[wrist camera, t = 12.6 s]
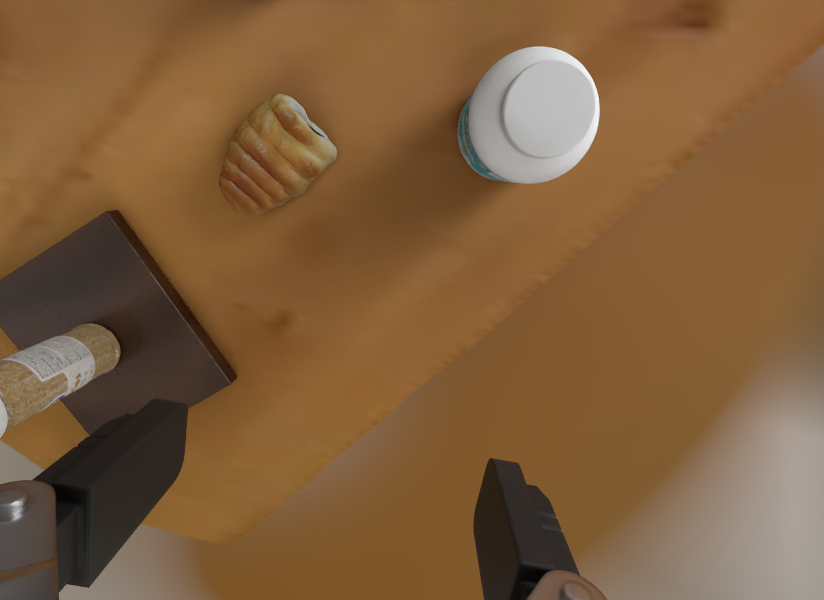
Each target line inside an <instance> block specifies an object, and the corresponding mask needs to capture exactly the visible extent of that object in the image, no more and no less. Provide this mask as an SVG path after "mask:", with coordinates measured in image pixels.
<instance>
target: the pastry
mask: <svg viewBox="0 0 824 600" xmlns="http://www.w3.org/2000/svg"><path fill="white" fill-rule="evenodd" d="M336 157H337V149H336V147H335V146H334V145H333V144H332V143H331V141H329V138H328V137H327V136H326V134H325V133H324V132H323V131H322V130H321V129H319V128H318V127H317V126H316V125H315V124H314V123H313V122H311V121H310V120H309V119H308V117H307V114H306V112H305V110H304V109H303V107H302V106H301V105H299V104H298V102H297V101H296V100H295V99H293V98H291V97H289V96H287V95H284V94H274V95H273V96H272V98H271V99H269V100H268V101H266V102H263V103H261V104H260V105H259V106H257V107H256V108H255V109H254V110H253V111H252V112H250V114H249V115H248V117H247V118H246V120H245V122H244V123H243V124H242V125H241V126H240V127H239V128H238V130H237V131H236V135H235V137H234V138H233V139H232V141H231V143H230V148H229V150H228V152H227V154H226V160H225V164H224V167H223V169H222V171H221V173H220V178H219V185H220V188H221V192H222V194H223V196H224V197H225V199H226V200H227V201H228V203H229V204H230V205H231V207H232V209H233V210H234V211H235V212H236V213H237V214H241V215H252V216H259V215H261V214H263V213H265V212H266V211H268V210H270V209H273V208H276V207H280V206H281V205H283V204H285V203H286V202H287V201H288V200H290V199H292V198H293V197H295V196H300V195H302V194H303V193H304V192H305V191H306V189H307V187H308V185H309V184H310V183H311V182H312V181H313V180H314V179H315V178H316V177H317V176H318V175H319V174H320V173H321V172H322V171H323V170H324V169H325V168H326V167H327V166H328V165H329V164H330V163H332V162H334V161H335V160H336Z"/></svg>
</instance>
